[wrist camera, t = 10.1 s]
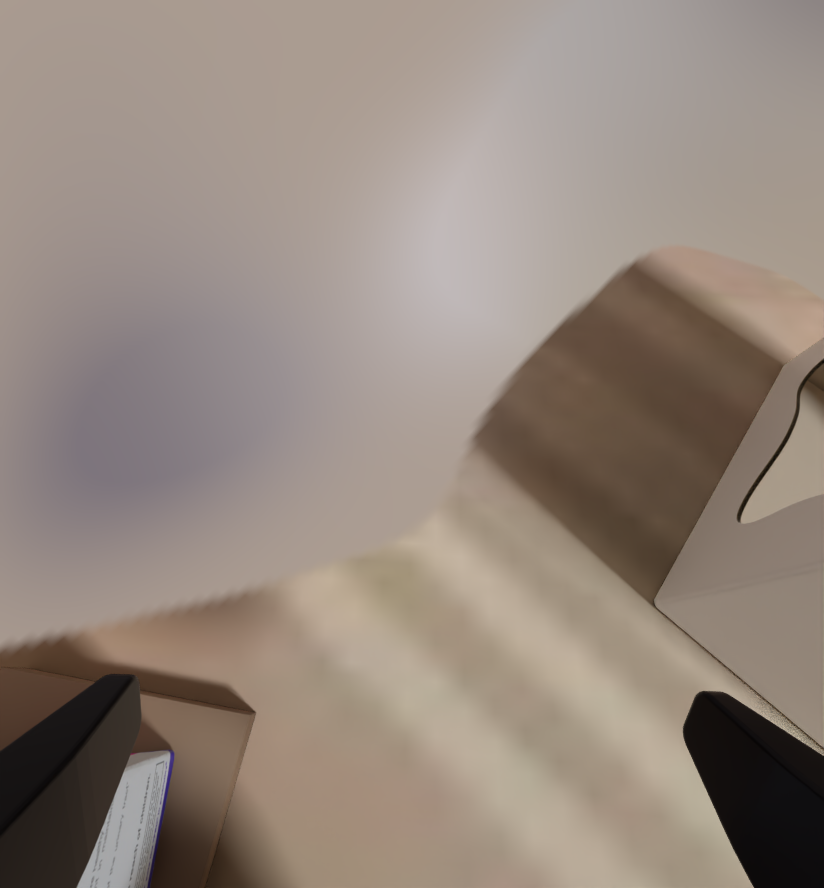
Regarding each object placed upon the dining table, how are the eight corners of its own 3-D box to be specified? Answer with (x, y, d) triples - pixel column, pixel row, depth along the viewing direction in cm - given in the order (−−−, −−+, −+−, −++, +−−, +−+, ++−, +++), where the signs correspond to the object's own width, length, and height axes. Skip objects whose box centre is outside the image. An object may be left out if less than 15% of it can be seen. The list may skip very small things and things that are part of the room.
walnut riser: (158, 1048, 14) (140, 1086, 13) (-148, 1002, 14) (-200, 1036, 12) (256, 712, 18) (250, 715, 17) (25, 667, 18) (1, 667, 16)
